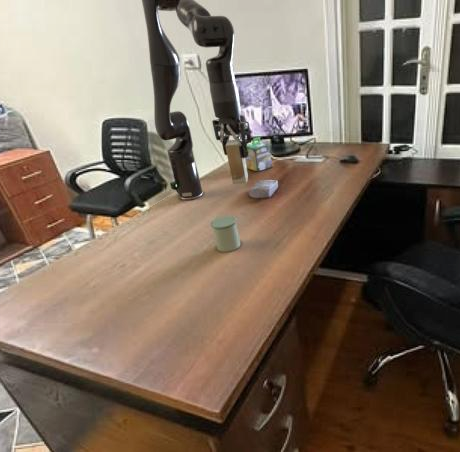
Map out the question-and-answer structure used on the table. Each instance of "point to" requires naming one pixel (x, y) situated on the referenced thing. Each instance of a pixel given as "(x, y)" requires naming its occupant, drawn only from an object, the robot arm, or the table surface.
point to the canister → (226, 233)
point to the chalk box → (258, 155)
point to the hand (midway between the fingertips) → (236, 155)
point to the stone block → (263, 189)
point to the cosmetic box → (236, 162)
